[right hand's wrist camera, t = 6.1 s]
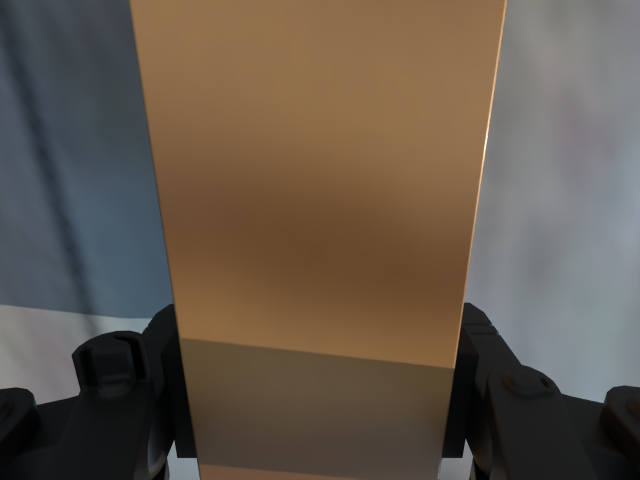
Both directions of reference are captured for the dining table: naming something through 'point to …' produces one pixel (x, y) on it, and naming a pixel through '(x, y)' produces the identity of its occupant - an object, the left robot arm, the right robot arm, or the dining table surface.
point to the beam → (318, 221)
